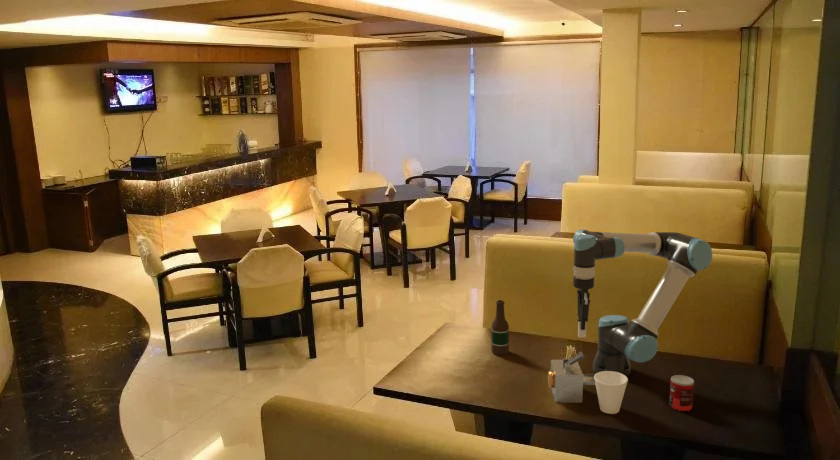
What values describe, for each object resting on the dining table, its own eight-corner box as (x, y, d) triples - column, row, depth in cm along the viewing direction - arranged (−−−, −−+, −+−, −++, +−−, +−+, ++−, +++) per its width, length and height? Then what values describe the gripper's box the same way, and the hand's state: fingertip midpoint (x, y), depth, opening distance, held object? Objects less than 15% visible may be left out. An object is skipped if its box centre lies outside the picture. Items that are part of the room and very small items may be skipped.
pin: (593, 383, 257) (594, 368, 256) (596, 391, 251) (597, 375, 250) (547, 383, 258) (547, 368, 257) (549, 390, 252) (550, 375, 251)
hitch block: (576, 385, 262) (576, 354, 259) (582, 402, 248) (583, 369, 245) (550, 385, 263) (551, 354, 260) (555, 402, 249) (556, 369, 246)
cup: (633, 411, 241) (635, 380, 238) (609, 420, 235) (611, 388, 232) (609, 398, 251) (610, 368, 248) (586, 406, 245) (587, 375, 242)
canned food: (673, 400, 248) (674, 372, 246) (695, 406, 243) (697, 378, 241) (665, 408, 243) (667, 380, 240) (688, 414, 238) (690, 386, 235)
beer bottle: (508, 356, 291) (508, 304, 286) (490, 355, 293) (490, 303, 288) (509, 349, 299) (509, 298, 294) (492, 348, 300) (492, 297, 295)
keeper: (583, 353, 254) (581, 350, 254) (585, 358, 249) (583, 355, 249) (565, 364, 255) (563, 362, 255) (567, 369, 251) (564, 366, 251)
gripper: (570, 271, 251) (569, 330, 257) (576, 281, 239) (574, 343, 244) (590, 271, 251) (588, 330, 256) (597, 281, 238) (595, 343, 243)
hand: (582, 336), depth 250 cm, fingers closed
